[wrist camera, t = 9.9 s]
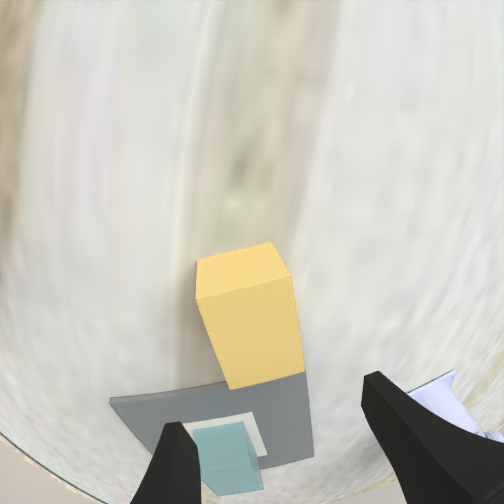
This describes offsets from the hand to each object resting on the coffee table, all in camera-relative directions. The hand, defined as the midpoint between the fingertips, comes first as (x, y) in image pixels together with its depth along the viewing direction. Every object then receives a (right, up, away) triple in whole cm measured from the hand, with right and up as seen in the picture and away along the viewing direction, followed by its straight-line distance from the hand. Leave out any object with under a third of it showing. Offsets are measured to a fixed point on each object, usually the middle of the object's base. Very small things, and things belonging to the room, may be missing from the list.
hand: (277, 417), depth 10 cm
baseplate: (-3, -11, +14) cm, 18 cm away
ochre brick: (-1, +4, +9) cm, 9 cm away
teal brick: (-3, -11, +14) cm, 18 cm away
